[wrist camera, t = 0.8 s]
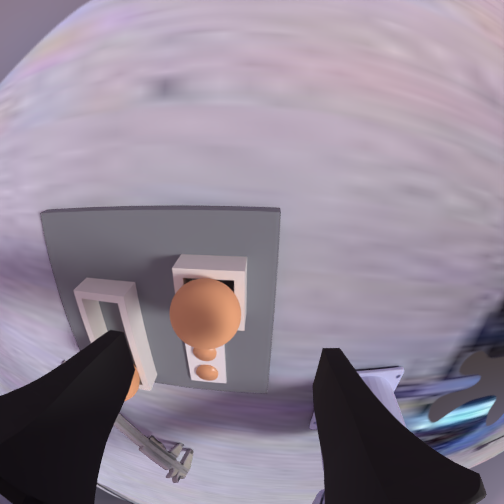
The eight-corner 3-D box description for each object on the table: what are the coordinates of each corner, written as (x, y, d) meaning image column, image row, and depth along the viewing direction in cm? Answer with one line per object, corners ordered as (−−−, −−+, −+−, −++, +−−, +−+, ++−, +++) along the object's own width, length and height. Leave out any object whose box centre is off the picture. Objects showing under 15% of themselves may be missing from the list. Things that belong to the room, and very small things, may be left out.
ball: (243, 323, 18) (238, 366, 14) (183, 318, 18) (166, 359, 14) (243, 267, 16) (237, 306, 13) (177, 264, 16) (154, 300, 13)
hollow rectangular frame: (157, 374, 22) (150, 390, 21) (115, 366, 23) (107, 381, 21) (135, 282, 19) (123, 296, 17) (86, 277, 19) (73, 290, 17)
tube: (246, 312, 19) (244, 330, 17) (186, 308, 19) (179, 326, 17) (247, 256, 17) (244, 271, 16) (181, 254, 18) (172, 267, 16)
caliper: (194, 448, 30) (187, 486, 25) (189, 449, 31) (182, 486, 25) (65, 358, 25) (40, 395, 19) (63, 361, 25) (38, 397, 19)
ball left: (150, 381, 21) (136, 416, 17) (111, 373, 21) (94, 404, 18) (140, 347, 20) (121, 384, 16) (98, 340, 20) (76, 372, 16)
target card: (226, 380, 22) (226, 385, 22) (192, 377, 22) (191, 381, 22) (224, 337, 20) (223, 342, 20) (185, 334, 20) (183, 338, 20)
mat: (267, 385, 23) (267, 393, 23) (91, 361, 24) (87, 367, 23) (279, 208, 17) (280, 212, 16) (47, 209, 18) (40, 213, 17)
